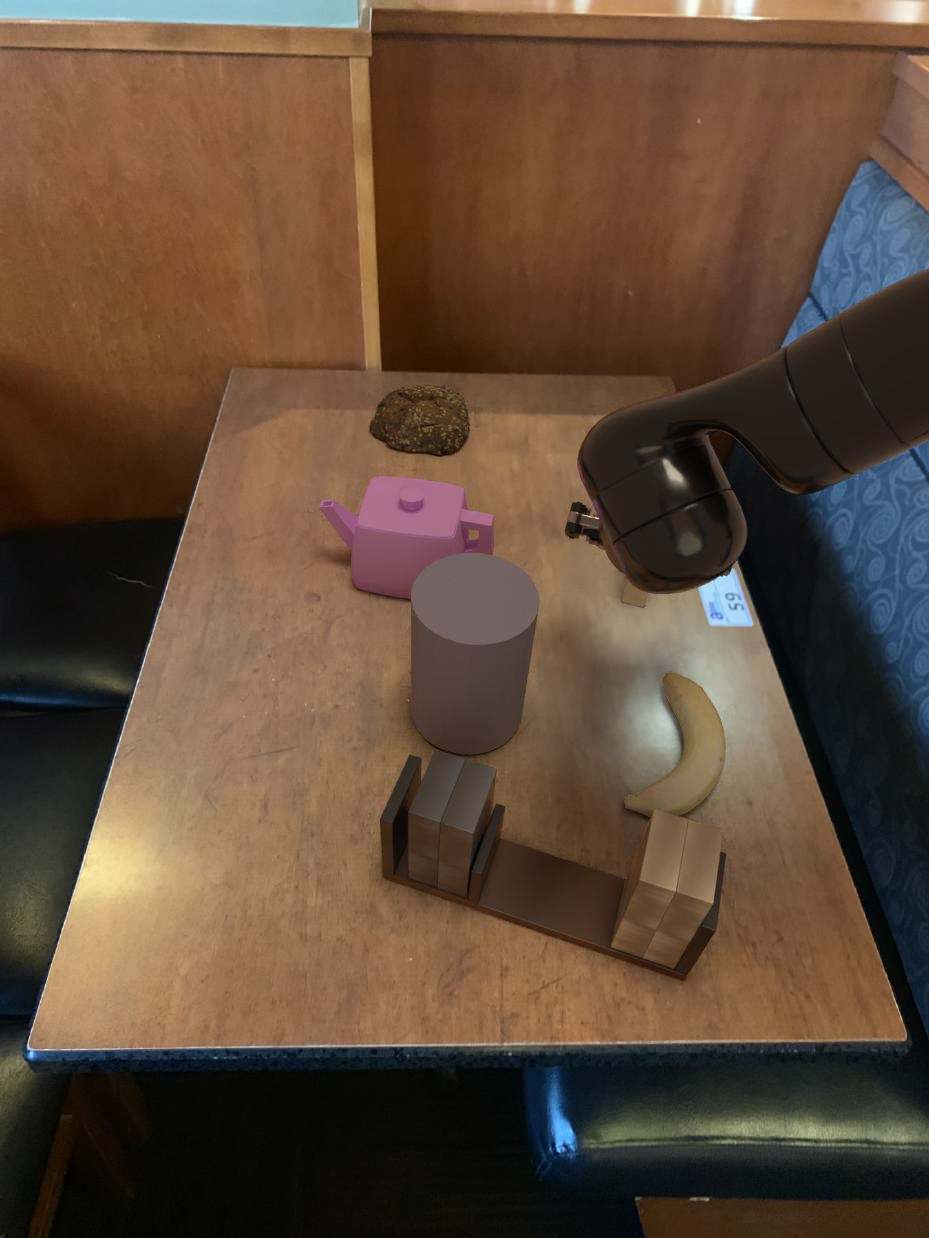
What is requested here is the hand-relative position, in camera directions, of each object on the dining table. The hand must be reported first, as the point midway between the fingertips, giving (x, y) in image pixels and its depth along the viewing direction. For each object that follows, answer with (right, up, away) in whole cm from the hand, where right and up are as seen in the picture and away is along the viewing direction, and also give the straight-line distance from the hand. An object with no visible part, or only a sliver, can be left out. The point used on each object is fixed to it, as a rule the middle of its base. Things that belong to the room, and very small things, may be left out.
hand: (647, 546), depth 78 cm
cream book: (+2, -3, +13) cm, 13 cm away
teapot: (-23, -1, +13) cm, 27 cm away
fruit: (+2, -19, -2) cm, 19 cm away
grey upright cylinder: (-17, -15, 0) cm, 23 cm away
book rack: (-11, -28, -12) cm, 32 cm away
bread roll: (-23, +18, +31) cm, 42 cm away
